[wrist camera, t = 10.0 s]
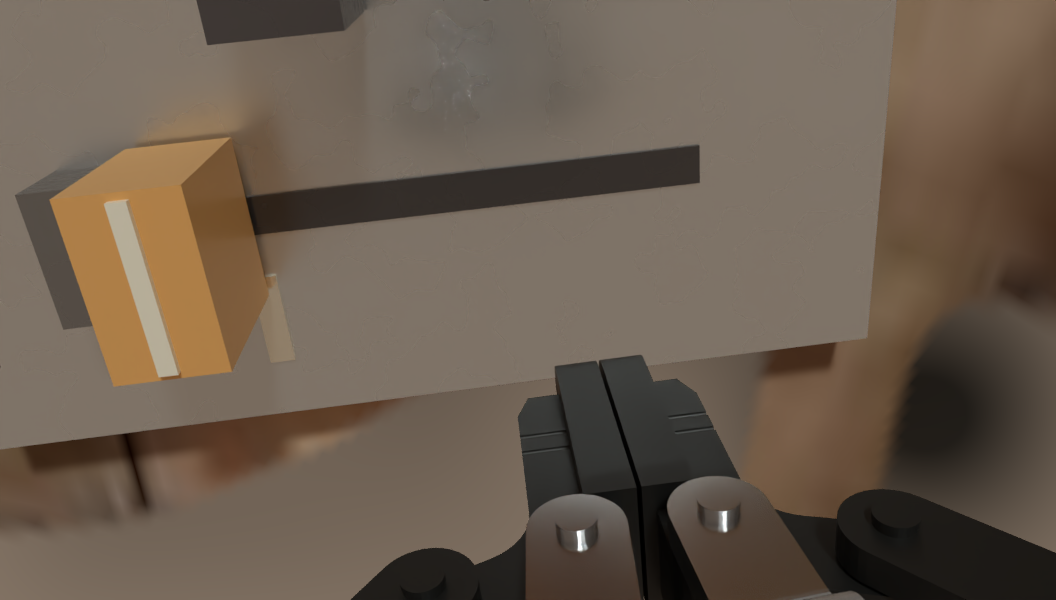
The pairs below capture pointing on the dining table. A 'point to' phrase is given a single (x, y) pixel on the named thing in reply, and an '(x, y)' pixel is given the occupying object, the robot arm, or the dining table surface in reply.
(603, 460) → the robot arm
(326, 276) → the console panel
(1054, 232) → the dining table surface
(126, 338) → the fader knob
